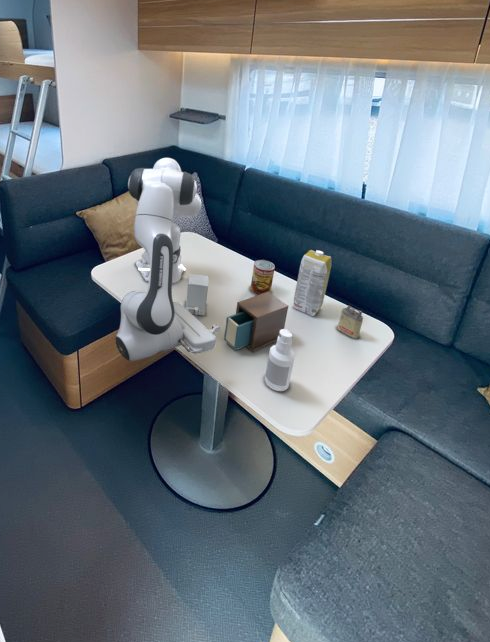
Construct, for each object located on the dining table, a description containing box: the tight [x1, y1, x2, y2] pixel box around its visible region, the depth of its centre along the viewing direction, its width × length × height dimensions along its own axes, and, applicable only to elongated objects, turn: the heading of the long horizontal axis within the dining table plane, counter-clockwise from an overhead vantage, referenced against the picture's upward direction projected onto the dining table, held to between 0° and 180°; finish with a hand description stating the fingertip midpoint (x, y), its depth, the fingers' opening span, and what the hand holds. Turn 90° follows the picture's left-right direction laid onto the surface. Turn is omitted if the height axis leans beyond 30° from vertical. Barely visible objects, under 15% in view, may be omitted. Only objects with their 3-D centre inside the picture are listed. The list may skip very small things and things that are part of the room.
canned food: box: [250, 259, 276, 296], centre depth 164 cm, size 8×8×12 cm
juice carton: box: [293, 249, 332, 317], centre depth 151 cm, size 9×8×24 cm
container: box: [223, 311, 254, 351], centre depth 135 cm, size 6×14×9 cm, turn 118°
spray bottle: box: [264, 328, 296, 392], centre depth 118 cm, size 7×7×18 cm
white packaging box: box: [185, 273, 209, 316], centre depth 151 cm, size 7×7×13 cm
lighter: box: [336, 304, 364, 339], centre depth 141 cm, size 7×4×10 cm, turn 37°
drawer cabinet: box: [235, 292, 289, 352], centre depth 138 cm, size 10×14×13 cm
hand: (208, 318), depth 124 cm, fingers open, 8 cm apart
